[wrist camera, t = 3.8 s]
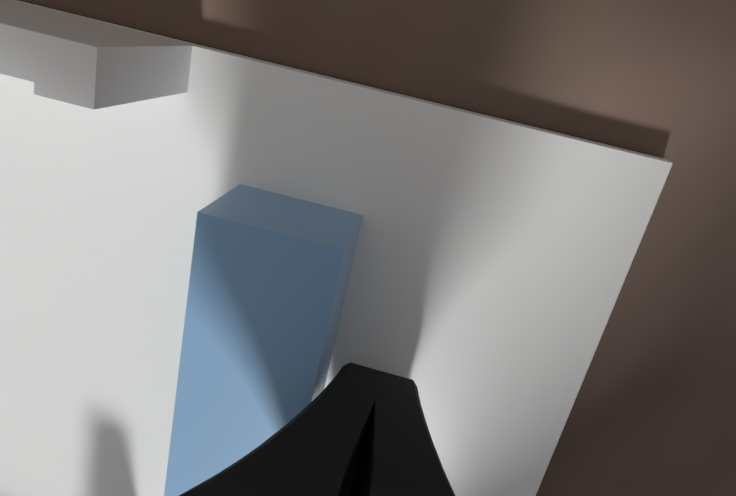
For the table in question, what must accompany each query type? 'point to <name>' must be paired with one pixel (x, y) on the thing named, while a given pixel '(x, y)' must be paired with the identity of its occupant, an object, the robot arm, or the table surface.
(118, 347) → the white storage tray
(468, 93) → the table surface
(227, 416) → the pale blue rectangular prism
